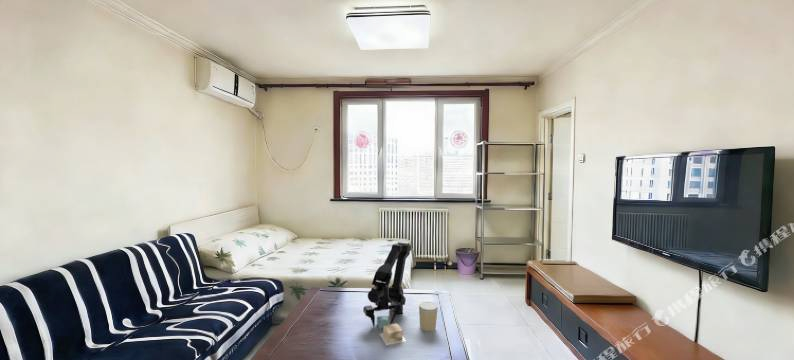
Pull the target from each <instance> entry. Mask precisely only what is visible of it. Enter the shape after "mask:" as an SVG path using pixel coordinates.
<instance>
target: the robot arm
mask: <svg viewBox="0 0 794 360" xmlns="http://www.w3.org/2000/svg"><path fill="white" fill-rule="evenodd" d="M411 251H412V245H411V244H410V242H404V241H398V242H397V243H393V244H392V245H391V250H390V251H389V253H388V255H387V257H386V258H385V261H384V263H383V264H382V265H379V266H378V269H377V270H376V271H375V273H374V277H373V278H372V281H371V282H372V283H371V285H372V286H373V287H371V288H370V289H371V290H369V291H368V293H367V299H368V301H369V302H370V303H373V304H374V306H376V307H373V306H372V305H371V304H370V305H365V306H363V313H364V314H365V317H368V318H370V321H371V324H372V327H373V328H374V327H375V324H376V323H375V320H376V319H375V316H376V315H375V313H376V312H380V311H381V312H382V311H387V310H389V311H388V312H389V314H390V316H389V317H390V318H389V323H390V325H391V324H393V322H394V320H395V319H396V316H397V315H404V310H403V309H404V305H406V299H407V298H406V297H405V296H404V288H403V286H402V284H403V278H404V273H405V266H406V259H407V258H408V257H409V256H410V254H411ZM394 266H395V269H394V275H393V272H392V271H393V268H394ZM392 276H393V277H392ZM392 278H393V279H392ZM391 279H392V280H393V281H392V284H391ZM390 284H391V286H390Z"/></svg>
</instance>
